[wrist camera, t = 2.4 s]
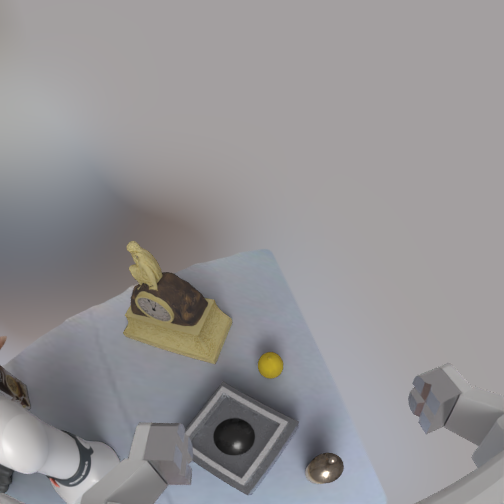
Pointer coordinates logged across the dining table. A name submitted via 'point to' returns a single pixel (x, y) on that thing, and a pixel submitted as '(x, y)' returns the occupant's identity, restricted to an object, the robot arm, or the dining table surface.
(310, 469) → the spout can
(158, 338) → the decorative clock
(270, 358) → the lemon
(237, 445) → the housing
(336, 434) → the dining table surface
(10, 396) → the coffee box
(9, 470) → the bundt pan
